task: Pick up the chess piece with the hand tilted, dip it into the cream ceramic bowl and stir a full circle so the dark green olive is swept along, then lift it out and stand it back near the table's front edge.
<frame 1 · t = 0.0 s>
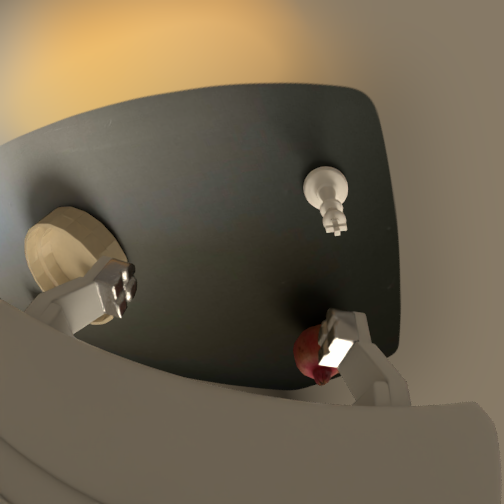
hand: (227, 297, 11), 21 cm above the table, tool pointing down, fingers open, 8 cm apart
mixing bowl: (85, 257, 41), on the table
chess piece: (325, 187, 30), on the table
fruit: (320, 328, 42), on the table
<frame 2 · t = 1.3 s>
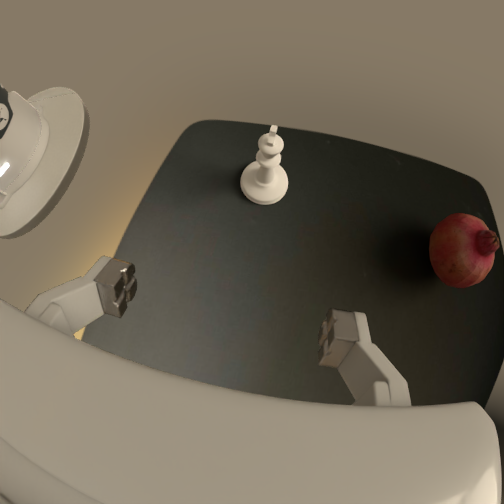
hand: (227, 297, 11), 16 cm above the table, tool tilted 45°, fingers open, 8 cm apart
chess piece: (264, 183, 29), on the table
fruit: (438, 256, 28), on the table
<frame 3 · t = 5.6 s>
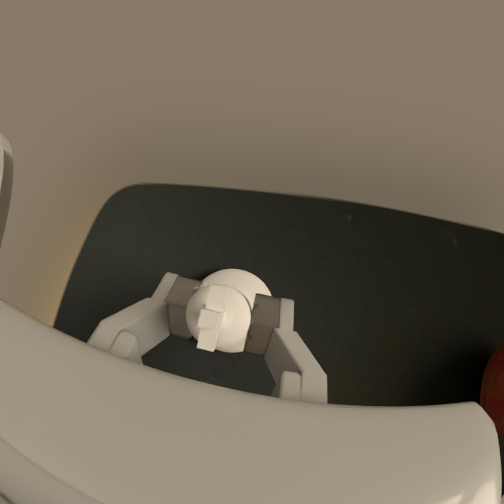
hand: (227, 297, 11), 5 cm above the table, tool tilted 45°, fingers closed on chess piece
chess piece: (232, 310, 16), on the table, touching gripper
fruit: (487, 377, 15), on the table
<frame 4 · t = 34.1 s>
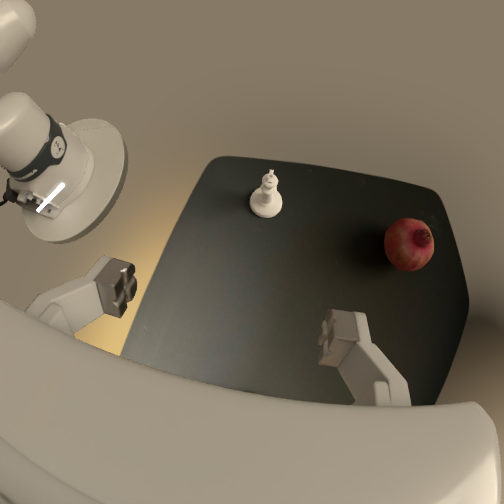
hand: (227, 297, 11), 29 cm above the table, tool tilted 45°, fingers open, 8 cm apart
chess piece: (265, 202, 43), on the table
fruit: (395, 250, 42), on the table
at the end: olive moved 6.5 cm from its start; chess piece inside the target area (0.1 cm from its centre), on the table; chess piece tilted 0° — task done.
